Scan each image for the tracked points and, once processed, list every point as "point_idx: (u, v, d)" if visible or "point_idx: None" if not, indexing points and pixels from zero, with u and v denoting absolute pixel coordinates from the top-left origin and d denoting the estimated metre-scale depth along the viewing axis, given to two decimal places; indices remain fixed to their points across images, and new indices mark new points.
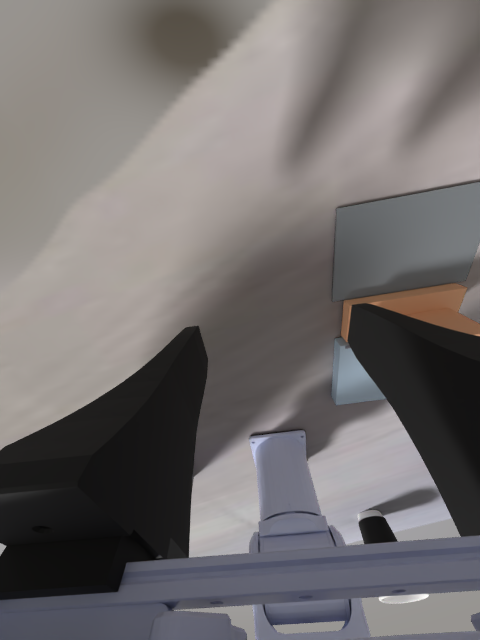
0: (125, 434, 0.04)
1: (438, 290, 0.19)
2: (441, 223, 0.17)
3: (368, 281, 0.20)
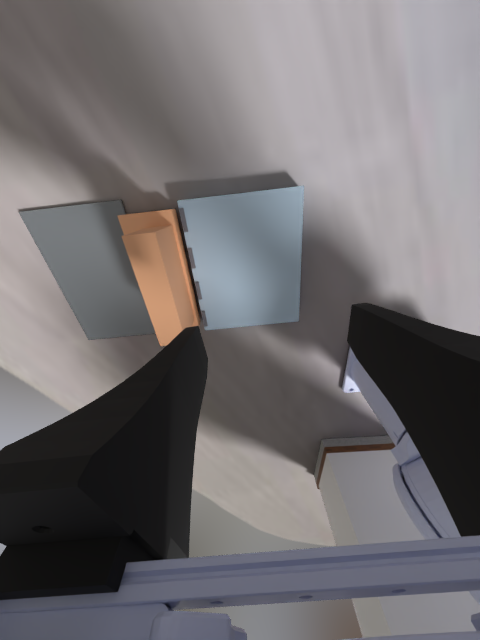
0: (125, 434, 0.04)
1: None
2: (73, 256, 0.18)
3: (139, 306, 0.21)
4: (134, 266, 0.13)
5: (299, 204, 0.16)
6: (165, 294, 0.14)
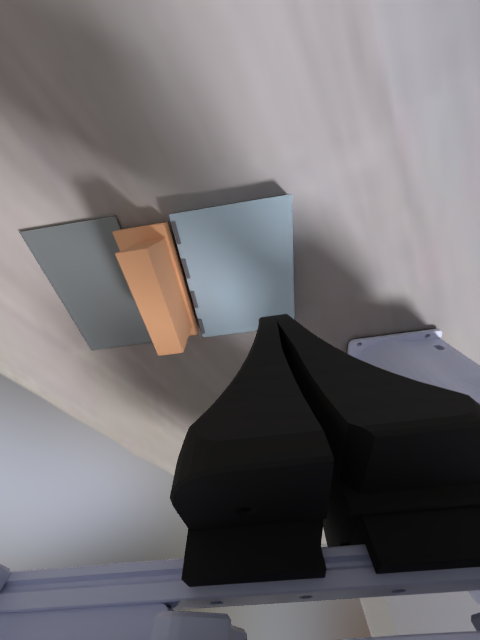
0: None
1: None
2: (72, 271, 0.19)
3: (138, 316, 0.21)
4: (129, 281, 0.14)
5: (288, 212, 0.16)
6: (160, 307, 0.15)
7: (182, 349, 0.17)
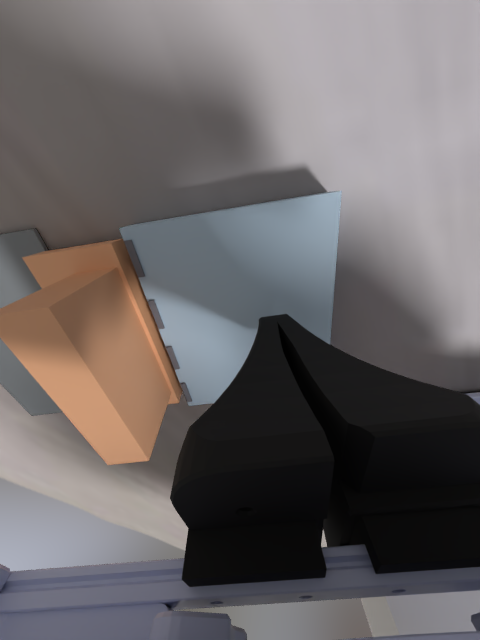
0: None
1: None
2: None
3: None
4: (27, 364, 0.07)
5: (332, 223, 0.09)
6: (97, 402, 0.08)
7: (148, 455, 0.10)
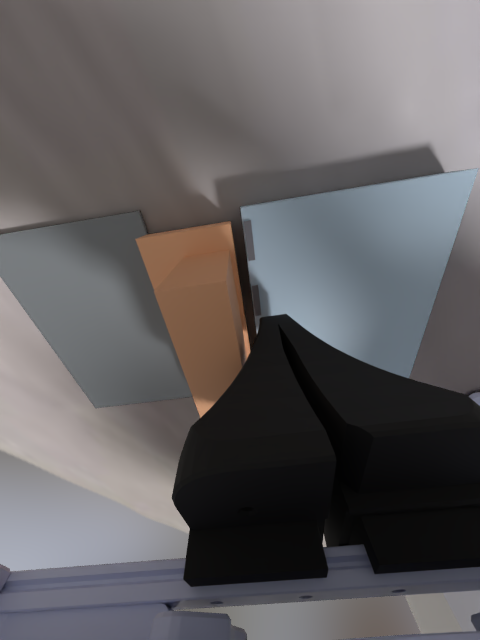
0: None
1: (155, 287, 0.10)
2: (66, 301, 0.12)
3: (167, 365, 0.14)
4: (178, 344, 0.07)
5: (459, 203, 0.09)
6: None
7: None
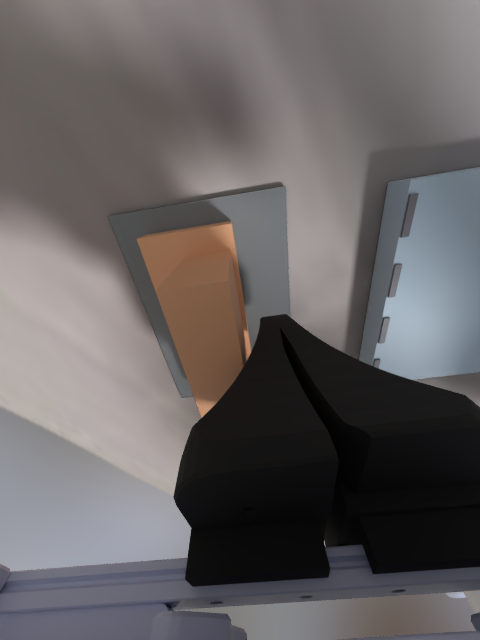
0: None
1: (155, 286, 0.10)
2: None
3: None
4: (179, 343, 0.07)
5: None
6: None
7: None
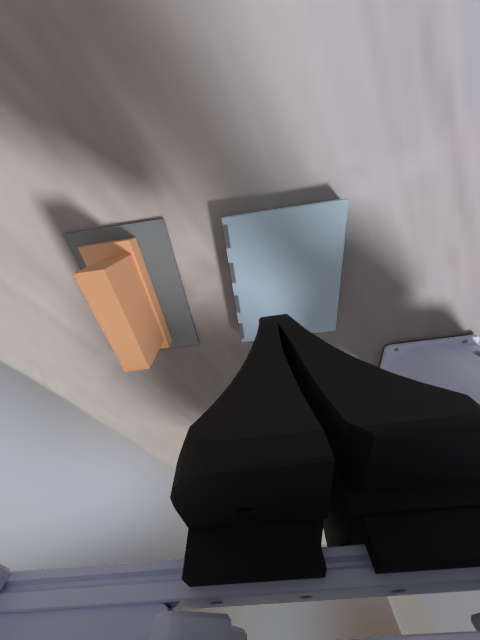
0: None
1: None
2: None
3: (176, 320, 0.21)
4: (89, 300, 0.14)
5: (343, 217, 0.16)
6: (122, 325, 0.15)
7: (149, 365, 0.17)
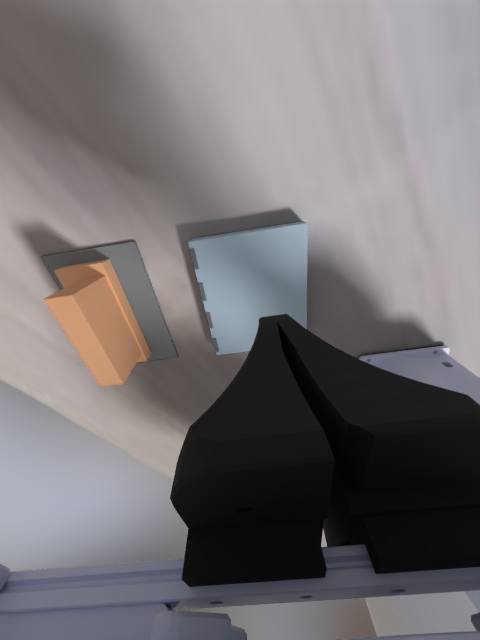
0: None
1: None
2: None
3: (153, 335, 0.22)
4: (60, 323, 0.15)
5: (303, 239, 0.16)
6: (94, 344, 0.16)
7: (122, 380, 0.18)
